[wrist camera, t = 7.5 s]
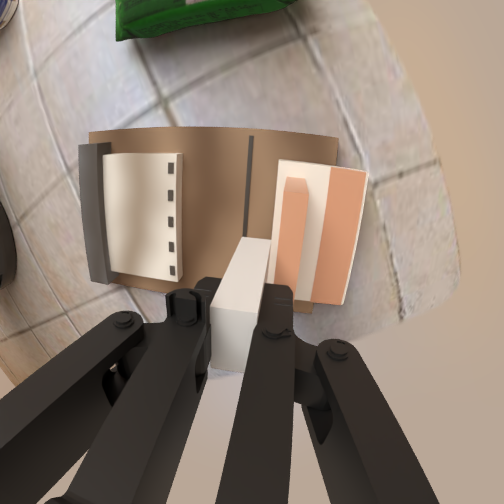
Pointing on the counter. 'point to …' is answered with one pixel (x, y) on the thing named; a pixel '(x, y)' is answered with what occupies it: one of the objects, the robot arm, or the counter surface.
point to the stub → (316, 229)
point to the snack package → (182, 14)
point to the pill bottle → (7, 11)
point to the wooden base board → (182, 199)
